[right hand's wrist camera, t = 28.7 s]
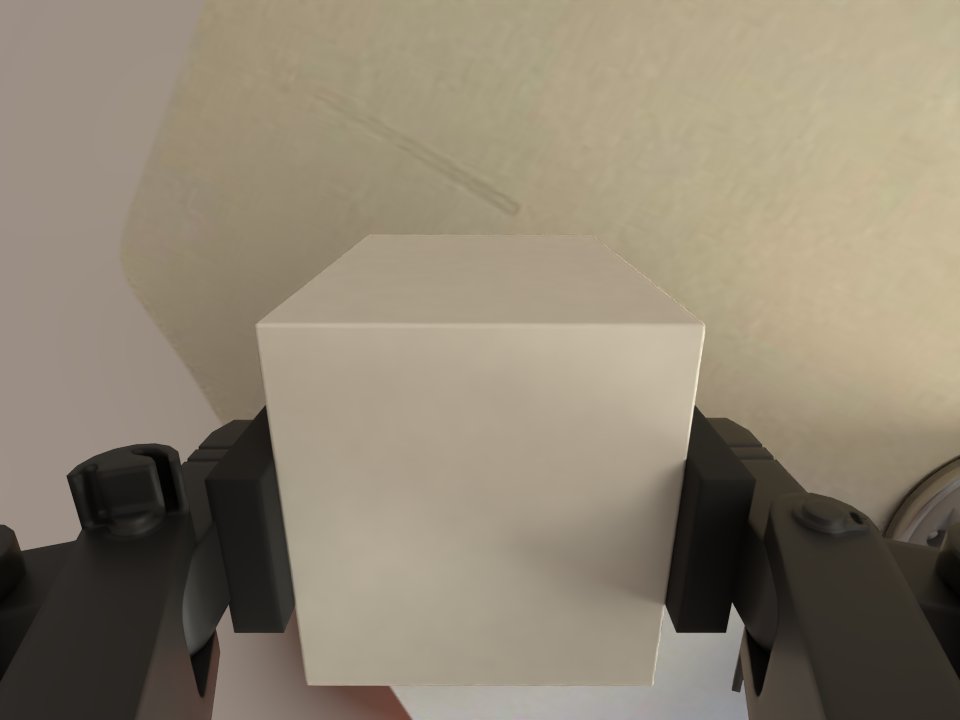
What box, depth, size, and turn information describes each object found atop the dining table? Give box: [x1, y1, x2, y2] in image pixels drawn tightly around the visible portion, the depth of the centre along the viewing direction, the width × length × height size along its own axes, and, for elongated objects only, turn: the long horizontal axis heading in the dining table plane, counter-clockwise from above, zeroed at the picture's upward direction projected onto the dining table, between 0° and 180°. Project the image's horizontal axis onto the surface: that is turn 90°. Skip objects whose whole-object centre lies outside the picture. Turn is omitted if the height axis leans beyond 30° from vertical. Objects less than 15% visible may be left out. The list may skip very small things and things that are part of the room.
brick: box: [255, 235, 706, 686], centre depth 12 cm, size 6×6×8 cm
